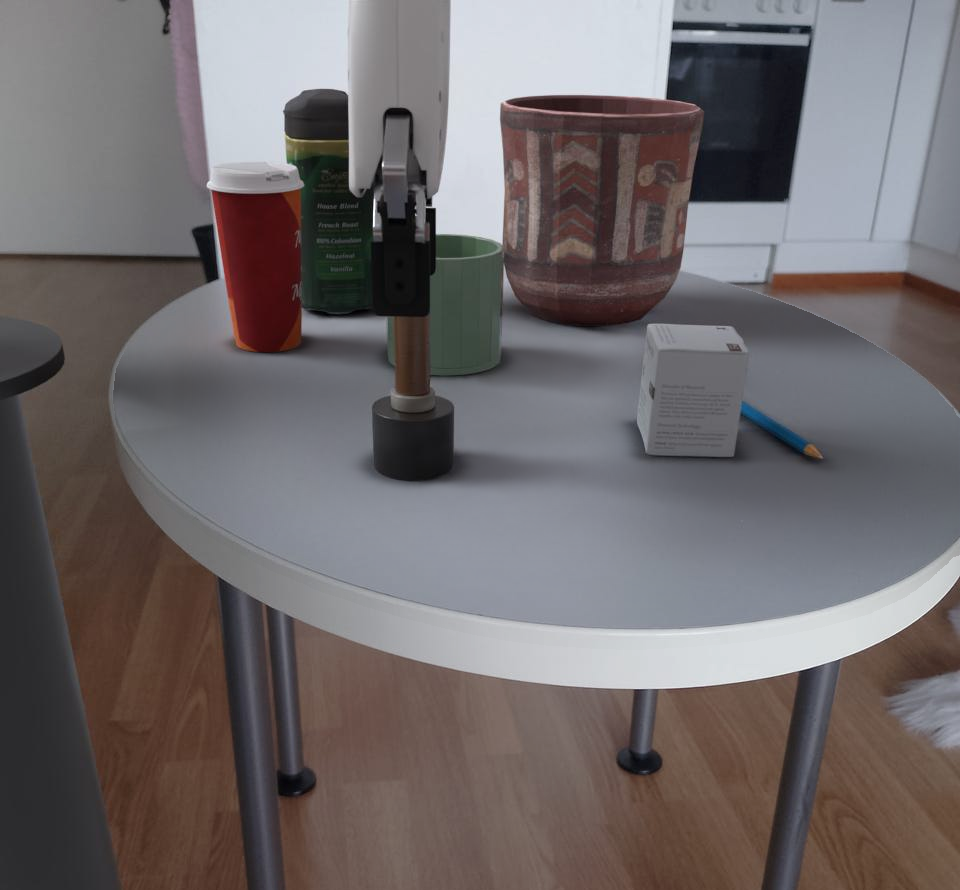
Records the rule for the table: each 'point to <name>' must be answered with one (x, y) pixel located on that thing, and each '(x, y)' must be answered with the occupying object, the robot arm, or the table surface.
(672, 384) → the white cardboard box
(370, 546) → the table surface
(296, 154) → the coffee jar
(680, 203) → the pottery
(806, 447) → the pencil
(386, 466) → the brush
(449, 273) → the jar
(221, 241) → the paper cup
